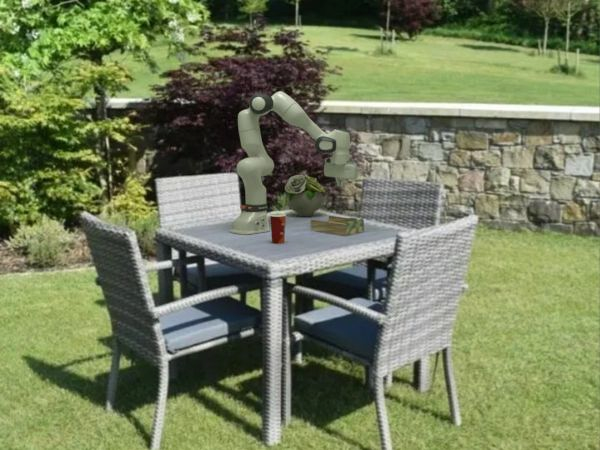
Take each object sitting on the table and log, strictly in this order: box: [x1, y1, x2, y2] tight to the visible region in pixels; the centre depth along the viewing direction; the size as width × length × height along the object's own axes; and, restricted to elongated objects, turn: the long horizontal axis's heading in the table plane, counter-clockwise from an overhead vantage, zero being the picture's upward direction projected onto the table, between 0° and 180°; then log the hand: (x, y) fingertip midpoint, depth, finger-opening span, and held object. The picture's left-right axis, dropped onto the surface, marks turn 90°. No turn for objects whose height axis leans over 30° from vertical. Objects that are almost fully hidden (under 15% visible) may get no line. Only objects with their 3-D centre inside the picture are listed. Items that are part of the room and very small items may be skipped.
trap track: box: [310, 215, 365, 237], centre depth 401 cm, size 16×23×7 cm
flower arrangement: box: [284, 174, 326, 217], centre depth 447 cm, size 25×25×24 cm
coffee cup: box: [269, 210, 287, 245], centre depth 373 cm, size 8×8×15 cm
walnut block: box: [345, 217, 358, 222], centre depth 397 cm, size 4×4×4 cm
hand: (340, 186), depth 400 cm, fingers closed
